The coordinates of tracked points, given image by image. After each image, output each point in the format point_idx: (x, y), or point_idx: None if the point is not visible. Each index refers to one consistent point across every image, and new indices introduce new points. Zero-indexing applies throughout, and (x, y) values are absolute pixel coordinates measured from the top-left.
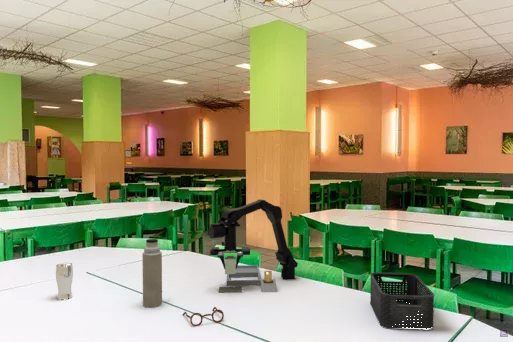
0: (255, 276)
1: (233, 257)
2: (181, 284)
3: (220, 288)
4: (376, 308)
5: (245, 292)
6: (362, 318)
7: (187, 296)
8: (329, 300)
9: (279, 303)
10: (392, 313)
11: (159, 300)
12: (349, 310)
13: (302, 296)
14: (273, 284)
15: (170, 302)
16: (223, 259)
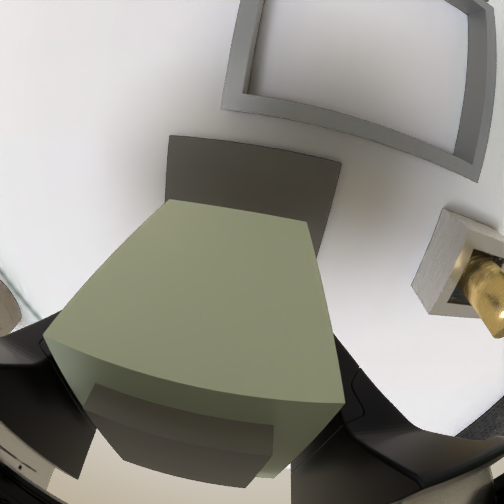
0: (459, 6)
1: (241, 485)
2: (6, 88)
3: (176, 178)
4: (481, 429)
5: (331, 273)
6: (460, 425)
7: (47, 261)
8: (501, 366)
9: (395, 390)
10: (499, 409)
11: (12, 327)
12: (477, 405)
13: (487, 343)
14: (471, 316)
15: (29, 302)
16: (89, 433)
